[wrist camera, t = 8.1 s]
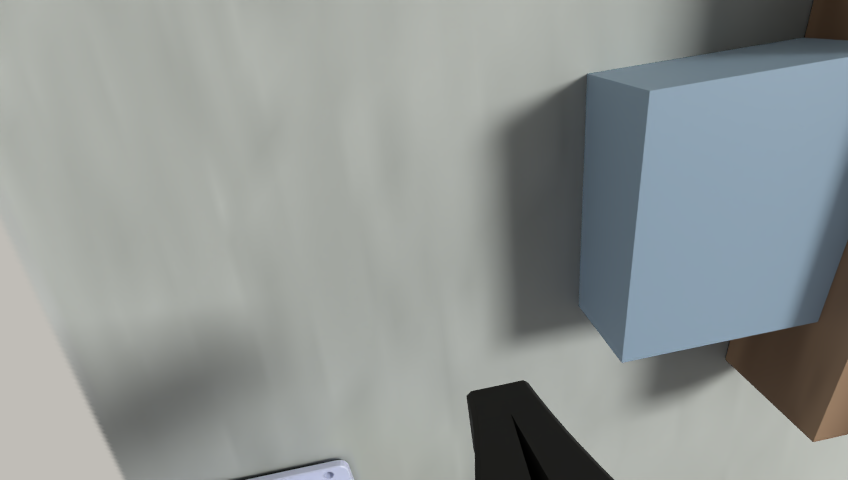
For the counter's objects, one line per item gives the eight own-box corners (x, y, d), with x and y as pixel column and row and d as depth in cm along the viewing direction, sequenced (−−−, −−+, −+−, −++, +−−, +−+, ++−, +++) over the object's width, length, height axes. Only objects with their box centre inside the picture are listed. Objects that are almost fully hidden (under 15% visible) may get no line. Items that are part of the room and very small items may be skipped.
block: (575, 301, 20) (621, 362, 17) (583, 72, 16) (649, 91, 12) (739, 269, 21) (817, 321, 17) (795, 37, 16) (918, 44, 13)
